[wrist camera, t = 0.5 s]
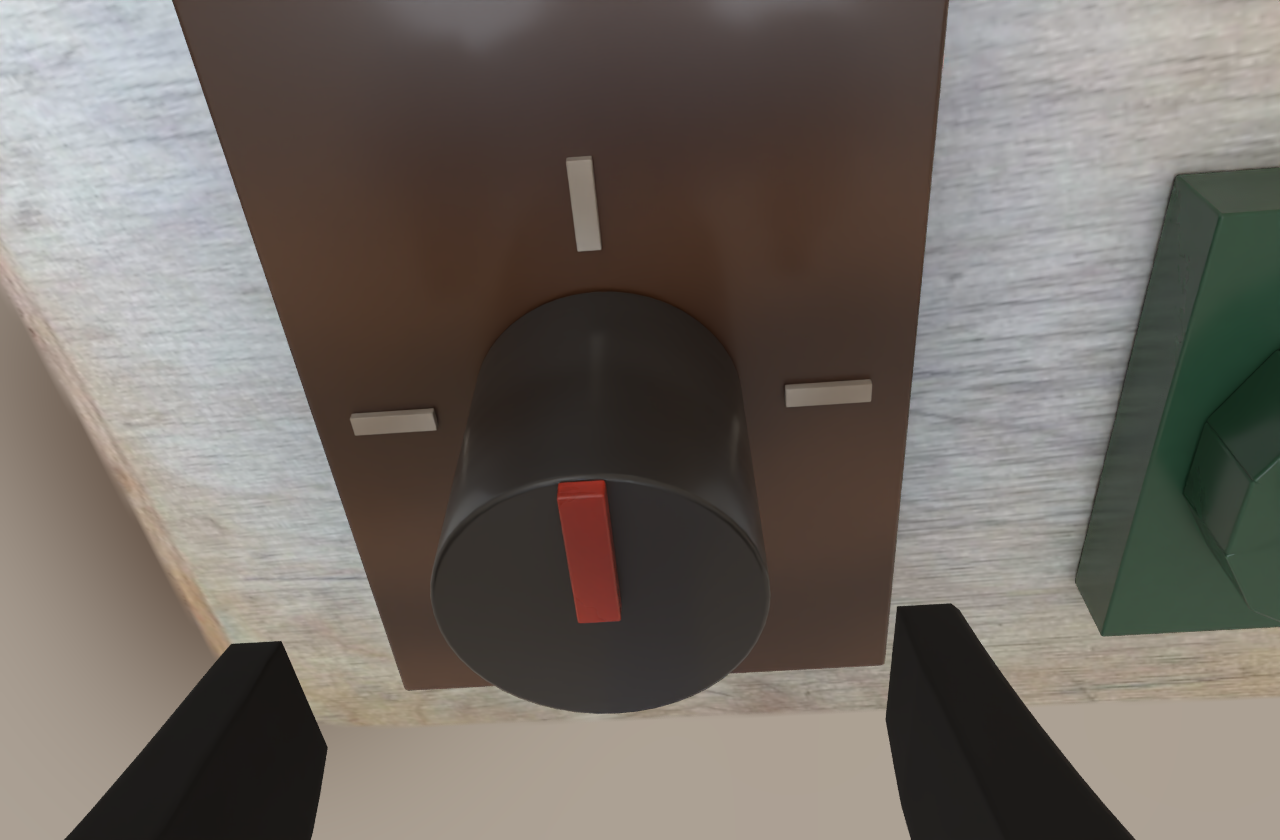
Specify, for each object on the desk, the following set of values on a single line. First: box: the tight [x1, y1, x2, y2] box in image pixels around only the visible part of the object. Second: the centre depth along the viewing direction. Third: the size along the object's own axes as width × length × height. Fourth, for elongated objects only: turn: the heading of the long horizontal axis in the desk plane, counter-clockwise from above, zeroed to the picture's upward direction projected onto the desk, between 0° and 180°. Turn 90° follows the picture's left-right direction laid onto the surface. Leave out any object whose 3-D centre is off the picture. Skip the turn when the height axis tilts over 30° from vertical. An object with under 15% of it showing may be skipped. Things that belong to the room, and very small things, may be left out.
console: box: [172, 0, 949, 691], centre depth 18 cm, size 14×10×3 cm
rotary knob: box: [430, 292, 771, 714], centre depth 15 cm, size 4×4×5 cm
